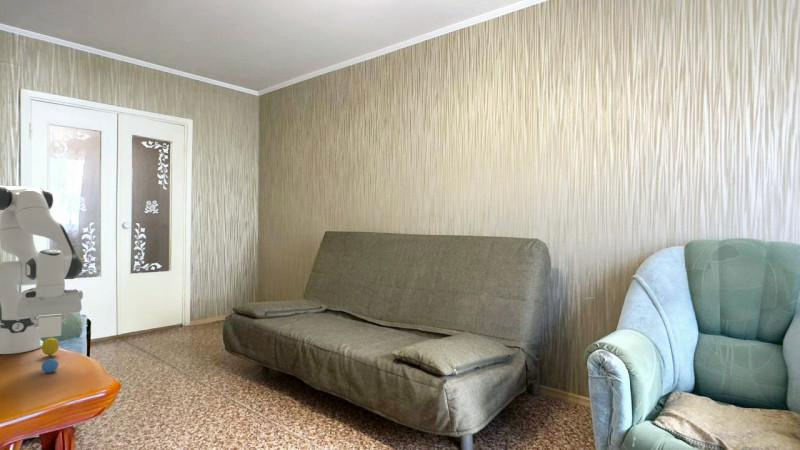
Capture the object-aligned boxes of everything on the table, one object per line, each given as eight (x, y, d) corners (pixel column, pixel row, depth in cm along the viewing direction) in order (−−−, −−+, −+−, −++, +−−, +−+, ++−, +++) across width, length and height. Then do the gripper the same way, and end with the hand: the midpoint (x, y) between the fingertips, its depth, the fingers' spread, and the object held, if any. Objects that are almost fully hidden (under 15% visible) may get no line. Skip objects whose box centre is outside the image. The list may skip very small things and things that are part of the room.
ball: (41, 371, 165) (41, 358, 165) (58, 369, 168) (58, 356, 168) (41, 375, 161) (41, 362, 161) (58, 372, 164) (58, 359, 164)
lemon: (44, 358, 180) (44, 339, 180) (40, 356, 184) (40, 337, 184) (60, 355, 185) (60, 336, 185) (56, 353, 188) (56, 334, 188)
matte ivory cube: (38, 333, 174) (39, 314, 174) (61, 331, 179) (61, 313, 178) (38, 338, 169) (38, 318, 169) (61, 335, 173) (61, 316, 173)
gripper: (82, 287, 182) (82, 320, 183) (17, 291, 170) (17, 327, 170) (83, 290, 177) (82, 324, 178) (16, 294, 165) (15, 330, 165)
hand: (50, 325), depth 174 cm, fingers closed on matte ivory cube, 7 cm apart
